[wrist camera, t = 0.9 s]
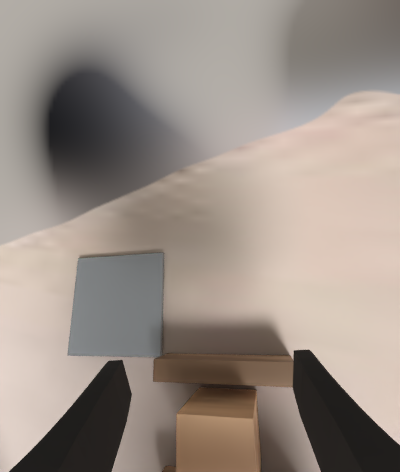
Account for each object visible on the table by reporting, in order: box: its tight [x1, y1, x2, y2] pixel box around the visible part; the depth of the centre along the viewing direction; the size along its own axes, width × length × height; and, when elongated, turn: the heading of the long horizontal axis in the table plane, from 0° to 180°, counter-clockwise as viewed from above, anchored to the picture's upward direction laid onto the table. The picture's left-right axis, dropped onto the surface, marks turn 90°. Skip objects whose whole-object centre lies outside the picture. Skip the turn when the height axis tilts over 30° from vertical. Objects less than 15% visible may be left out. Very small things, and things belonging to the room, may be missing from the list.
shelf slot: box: [153, 353, 294, 472], centre depth 19 cm, size 10×10×3 cm
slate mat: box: [68, 253, 164, 357], centre depth 25 cm, size 9×9×1 cm
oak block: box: [176, 387, 261, 472], centre depth 18 cm, size 4×4×6 cm
